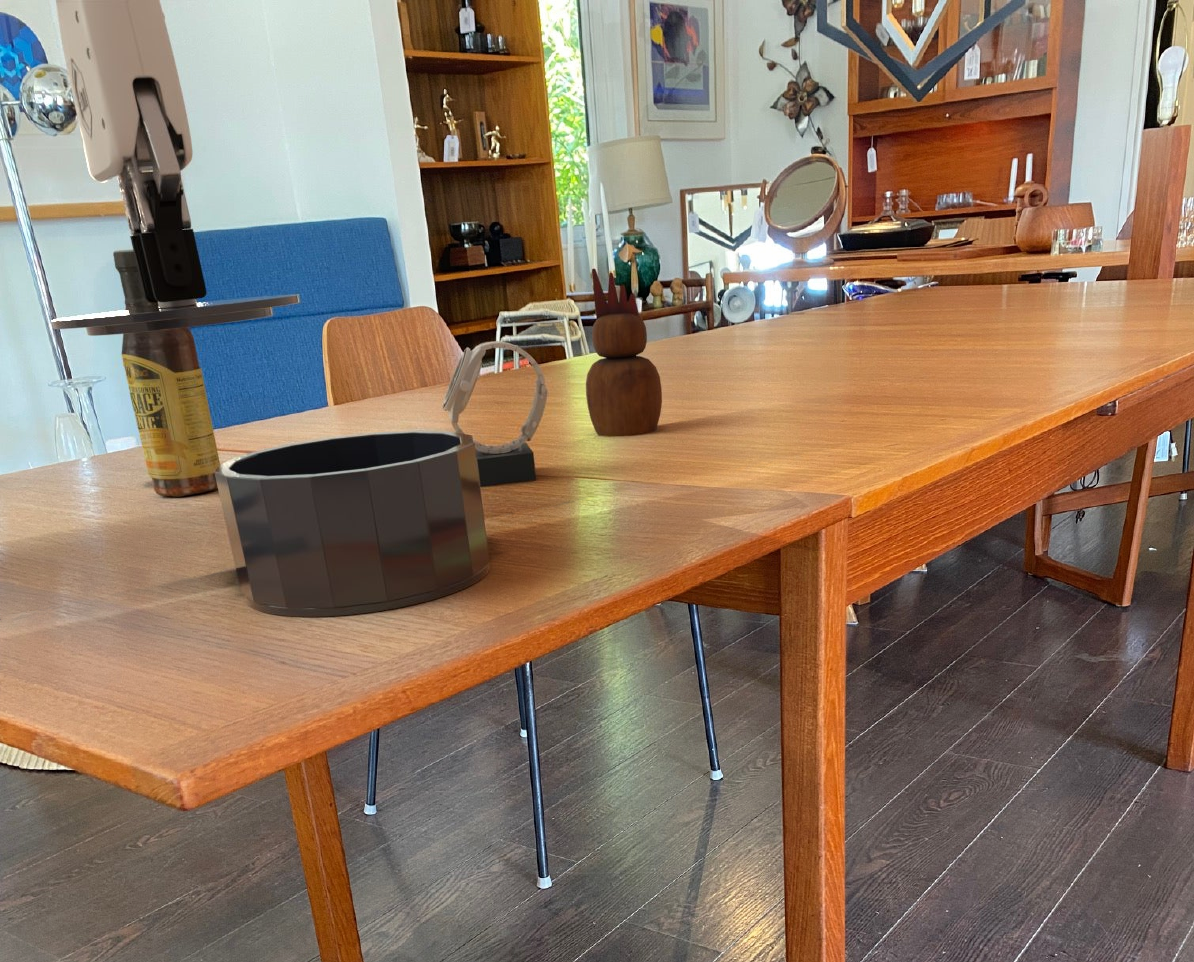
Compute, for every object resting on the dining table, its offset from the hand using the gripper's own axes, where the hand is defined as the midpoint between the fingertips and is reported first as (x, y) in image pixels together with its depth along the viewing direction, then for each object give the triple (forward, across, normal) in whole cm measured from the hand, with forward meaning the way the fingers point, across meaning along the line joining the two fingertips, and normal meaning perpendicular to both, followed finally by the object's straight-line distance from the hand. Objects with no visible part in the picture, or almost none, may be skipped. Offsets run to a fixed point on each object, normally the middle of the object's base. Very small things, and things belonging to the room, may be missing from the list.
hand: (176, 297), depth 76 cm
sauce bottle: (+16, -26, +3) cm, 31 cm away
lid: (+1, 0, 0) cm, 1 cm away
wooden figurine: (+17, -11, +40) cm, 45 cm away
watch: (+17, 0, +22) cm, 27 cm away
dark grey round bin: (+16, +18, +4) cm, 24 cm away
